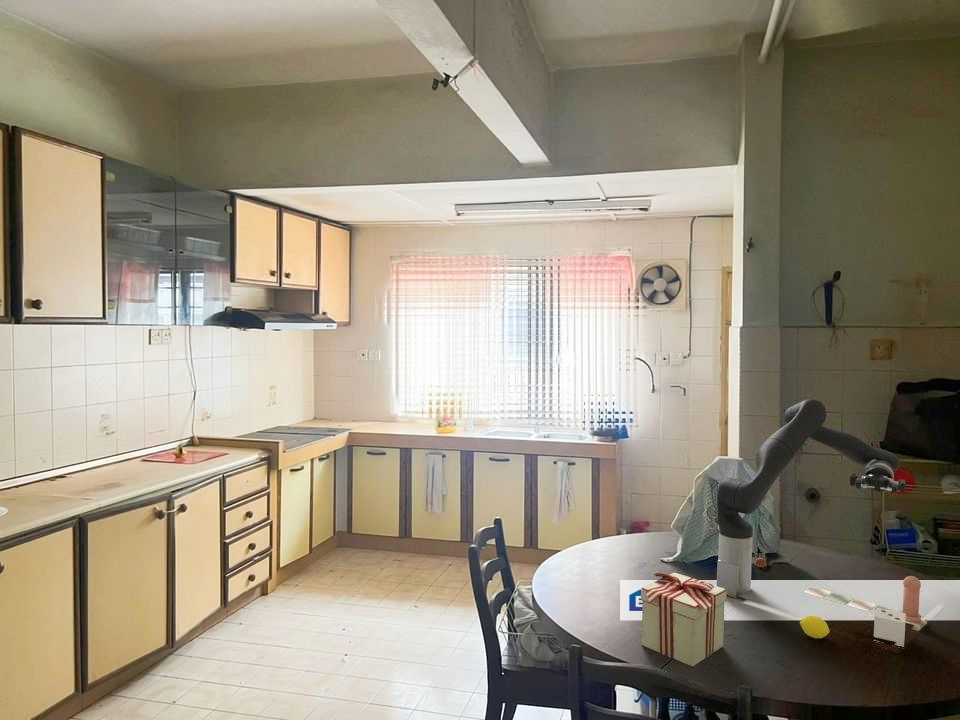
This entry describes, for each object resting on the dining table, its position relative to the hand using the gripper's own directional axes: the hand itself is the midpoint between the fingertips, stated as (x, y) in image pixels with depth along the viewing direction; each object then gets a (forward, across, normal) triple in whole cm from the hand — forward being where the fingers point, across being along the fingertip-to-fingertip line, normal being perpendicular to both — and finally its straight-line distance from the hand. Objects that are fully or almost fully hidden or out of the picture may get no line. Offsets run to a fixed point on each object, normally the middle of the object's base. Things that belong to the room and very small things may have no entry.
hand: (875, 487), depth 205 cm
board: (+11, -1, +32) cm, 34 cm away
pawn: (+14, +10, +31) cm, 35 cm away
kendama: (-16, -32, +32) cm, 49 cm away
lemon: (+37, -10, +32) cm, 50 cm away
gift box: (+62, -37, +32) cm, 79 cm away
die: (+28, +6, +32) cm, 43 cm away
